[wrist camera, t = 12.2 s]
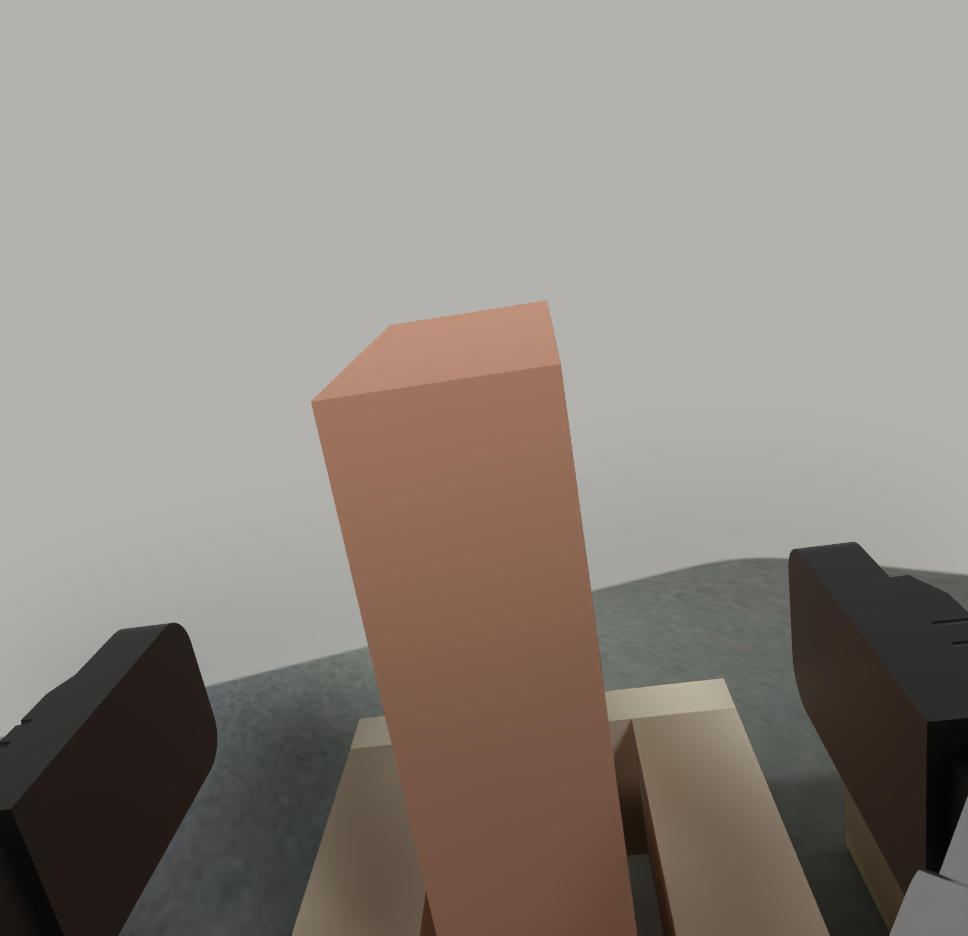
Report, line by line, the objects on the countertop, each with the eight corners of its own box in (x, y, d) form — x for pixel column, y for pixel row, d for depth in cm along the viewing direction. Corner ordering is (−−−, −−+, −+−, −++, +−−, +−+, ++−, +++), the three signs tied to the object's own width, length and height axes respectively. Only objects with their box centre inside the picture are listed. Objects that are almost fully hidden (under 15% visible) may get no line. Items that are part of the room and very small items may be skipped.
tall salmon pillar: (626, 885, 19) (546, 300, 15) (668, 1172, 14) (560, 363, 9) (502, 896, 20) (389, 325, 15) (494, 1180, 14) (311, 401, 10)
